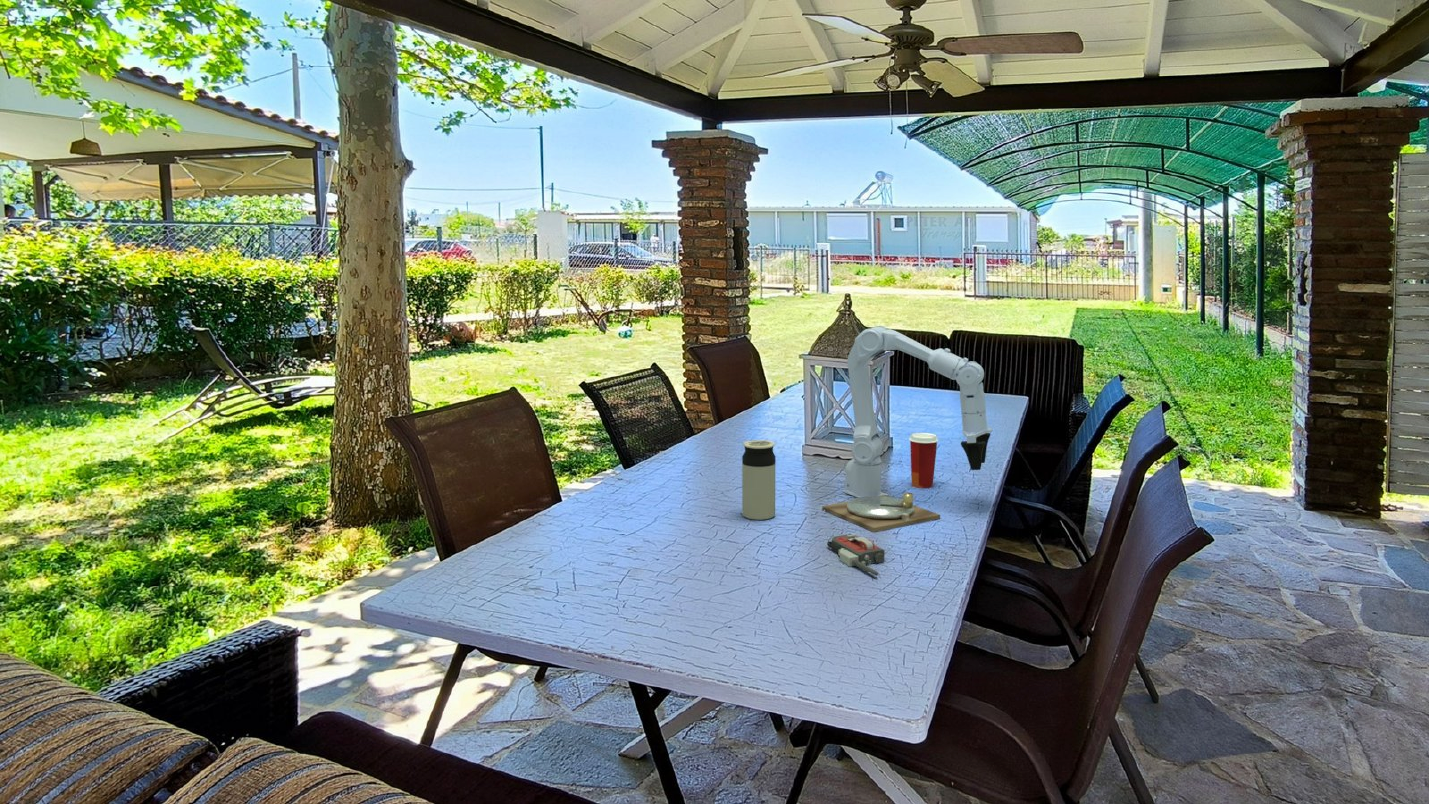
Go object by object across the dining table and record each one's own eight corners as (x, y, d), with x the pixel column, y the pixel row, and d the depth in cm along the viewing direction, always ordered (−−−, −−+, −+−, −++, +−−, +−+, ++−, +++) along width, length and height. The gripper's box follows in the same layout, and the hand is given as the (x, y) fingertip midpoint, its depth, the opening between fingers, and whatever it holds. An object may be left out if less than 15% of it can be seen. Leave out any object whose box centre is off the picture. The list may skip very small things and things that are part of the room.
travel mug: (781, 515, 212) (782, 443, 208) (760, 522, 206) (760, 448, 203) (756, 509, 217) (756, 438, 214) (735, 516, 211) (735, 443, 208)
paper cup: (940, 484, 239) (942, 434, 236) (931, 490, 232) (933, 439, 230) (912, 480, 243) (914, 431, 240) (903, 486, 236) (904, 436, 234)
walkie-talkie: (818, 550, 188) (872, 582, 170) (818, 531, 187) (872, 560, 169) (852, 545, 191) (908, 574, 173) (853, 525, 191) (909, 553, 173)
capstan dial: (842, 516, 206) (843, 499, 205) (851, 498, 221) (851, 481, 220) (911, 521, 202) (912, 503, 201) (915, 502, 217) (916, 486, 216)
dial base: (822, 510, 216) (822, 500, 215) (885, 498, 225) (885, 489, 225) (874, 532, 198) (874, 522, 198) (940, 518, 208) (940, 509, 207)
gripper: (986, 416, 205) (991, 472, 206) (994, 406, 218) (998, 459, 219) (955, 417, 208) (960, 473, 209) (965, 407, 221) (969, 460, 222)
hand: (978, 466), depth 215 cm, fingers open, 7 cm apart
